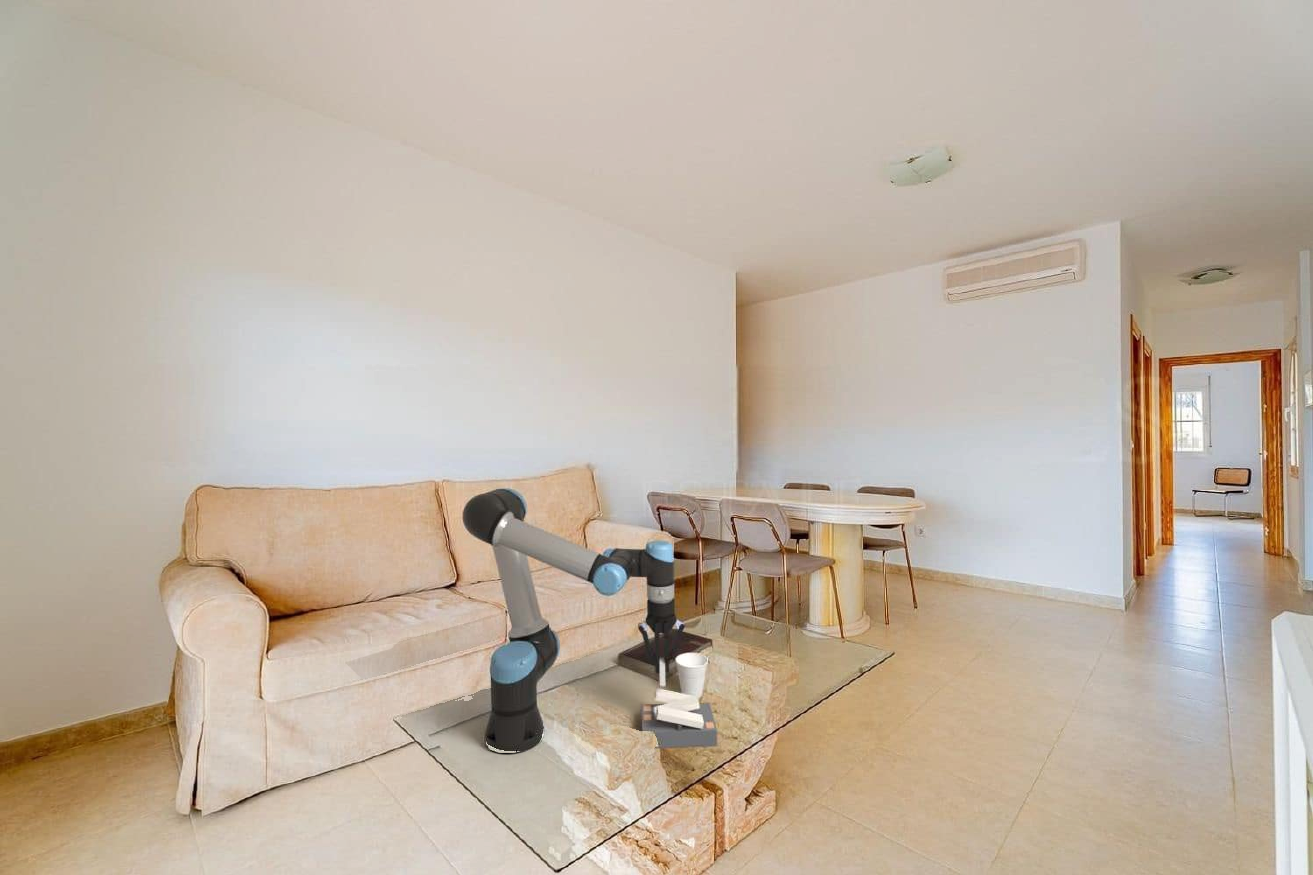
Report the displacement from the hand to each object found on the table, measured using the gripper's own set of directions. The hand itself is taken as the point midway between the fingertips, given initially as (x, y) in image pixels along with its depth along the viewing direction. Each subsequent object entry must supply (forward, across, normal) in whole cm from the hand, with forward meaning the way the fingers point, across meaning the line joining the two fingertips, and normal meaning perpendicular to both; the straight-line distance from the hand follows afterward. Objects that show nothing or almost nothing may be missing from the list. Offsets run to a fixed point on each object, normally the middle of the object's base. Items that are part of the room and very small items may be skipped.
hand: (662, 683), depth 153 cm
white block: (+5, +4, -5) cm, 8 cm away
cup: (+11, +10, +14) cm, 21 cm away
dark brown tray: (+12, +4, +40) cm, 42 cm away
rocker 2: (+5, +4, -9) cm, 11 cm away
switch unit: (+11, +4, -5) cm, 12 cm away
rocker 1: (+5, +4, 0) cm, 6 cm away
